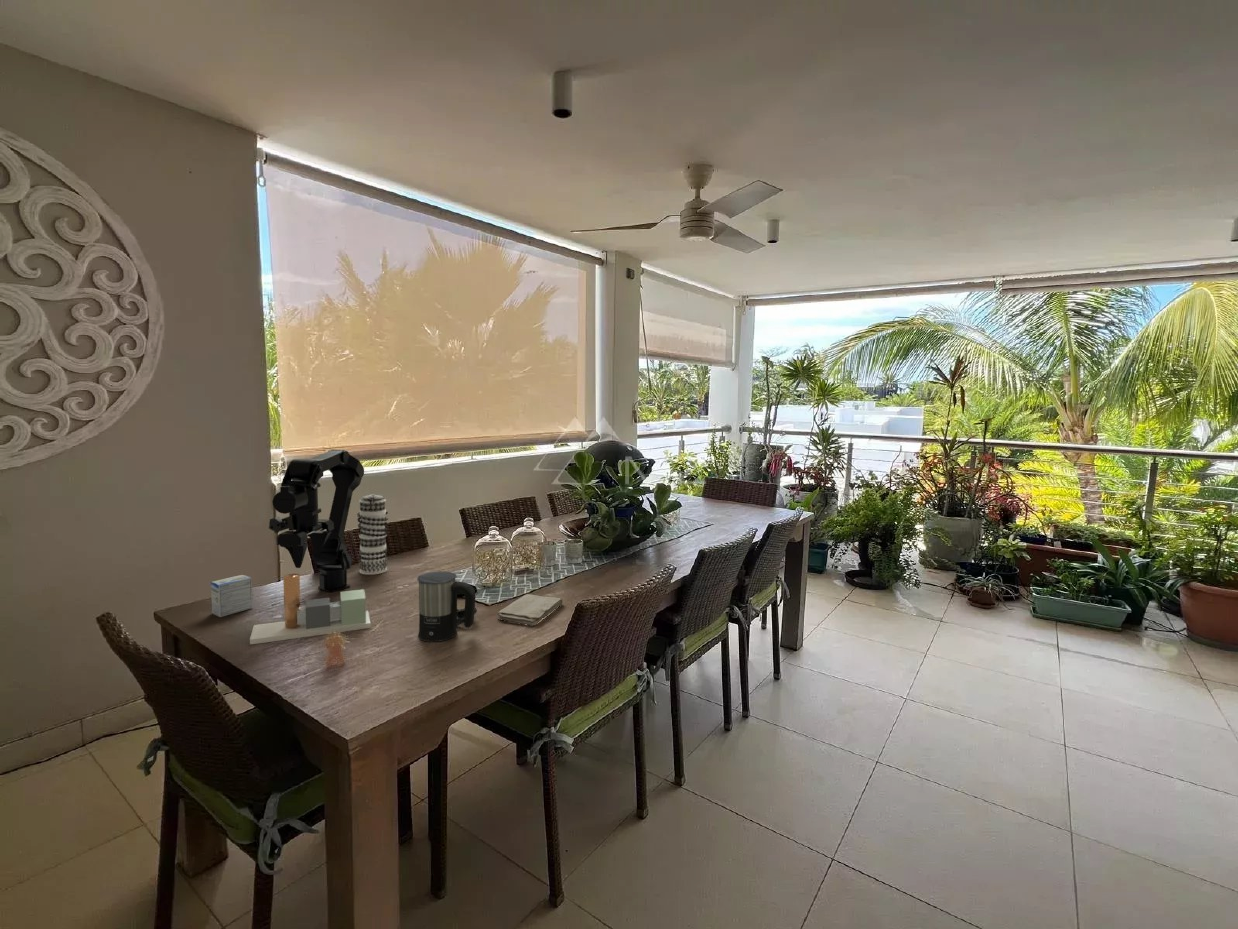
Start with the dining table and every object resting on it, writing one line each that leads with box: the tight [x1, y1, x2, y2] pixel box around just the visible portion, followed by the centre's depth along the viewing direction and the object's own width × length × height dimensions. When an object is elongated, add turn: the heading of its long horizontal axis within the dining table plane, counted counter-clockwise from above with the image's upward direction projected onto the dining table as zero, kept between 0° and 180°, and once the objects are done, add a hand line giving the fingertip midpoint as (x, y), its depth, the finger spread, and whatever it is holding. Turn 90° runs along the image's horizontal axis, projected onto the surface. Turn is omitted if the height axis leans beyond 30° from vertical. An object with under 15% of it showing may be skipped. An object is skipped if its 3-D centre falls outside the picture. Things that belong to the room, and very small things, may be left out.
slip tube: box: [282, 573, 341, 628], centre depth 140 cm, size 16×3×12 cm, turn 117°
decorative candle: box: [356, 494, 389, 575], centre depth 186 cm, size 9×9×25 cm
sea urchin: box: [313, 630, 356, 669], centre depth 122 cm, size 12×12×8 cm
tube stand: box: [249, 597, 372, 645], centre depth 140 cm, size 26×9×7 cm, turn 117°
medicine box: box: [210, 574, 253, 618], centre depth 149 cm, size 8×4×9 cm, turn 149°
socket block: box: [339, 588, 367, 625], centre depth 144 cm, size 6×7×6 cm
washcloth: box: [497, 593, 564, 627], centre depth 157 cm, size 12×18×3 cm, turn 163°
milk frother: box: [416, 570, 478, 643], centre depth 143 cm, size 14×16×15 cm
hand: (307, 562), depth 154 cm, fingers open, 9 cm apart
